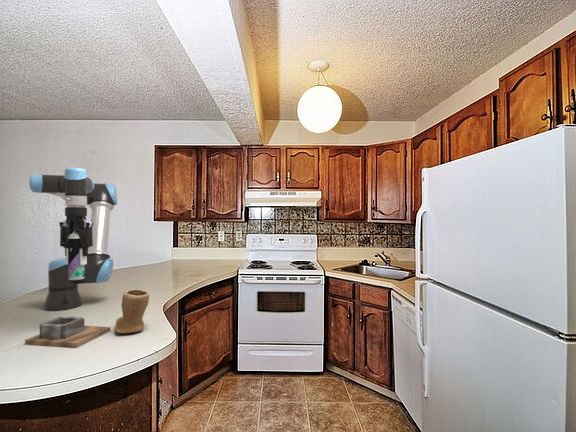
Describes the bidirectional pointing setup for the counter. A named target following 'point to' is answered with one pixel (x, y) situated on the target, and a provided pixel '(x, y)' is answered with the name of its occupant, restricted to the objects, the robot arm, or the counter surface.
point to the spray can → (74, 257)
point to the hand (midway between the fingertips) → (76, 264)
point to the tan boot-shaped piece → (132, 311)
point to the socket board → (72, 339)
